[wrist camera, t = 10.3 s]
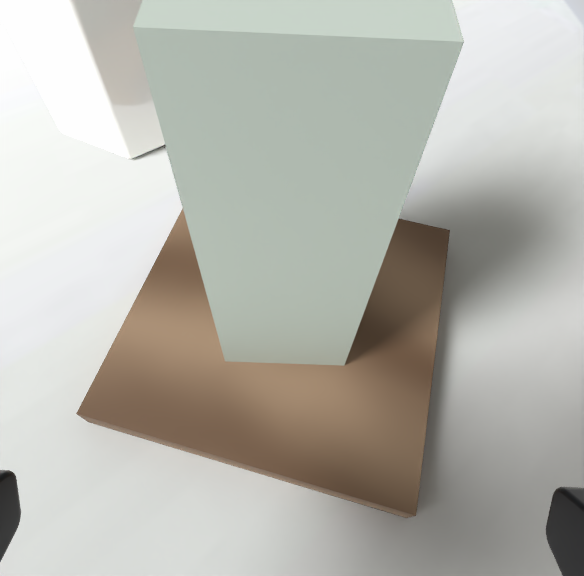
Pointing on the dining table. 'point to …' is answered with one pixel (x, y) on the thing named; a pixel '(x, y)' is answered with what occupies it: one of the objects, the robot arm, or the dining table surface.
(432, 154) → the dining table surface
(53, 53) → the jar
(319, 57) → the pale green square post
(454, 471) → the dining table surface
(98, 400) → the plate
